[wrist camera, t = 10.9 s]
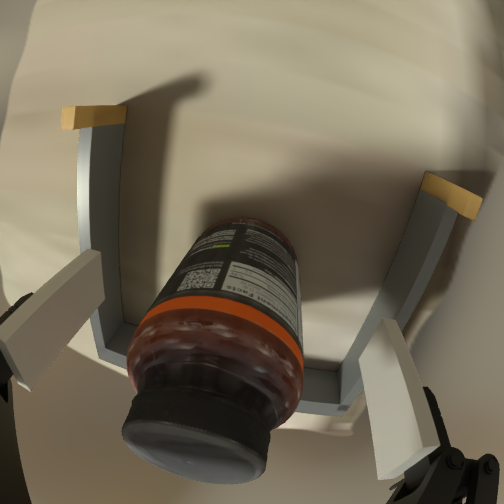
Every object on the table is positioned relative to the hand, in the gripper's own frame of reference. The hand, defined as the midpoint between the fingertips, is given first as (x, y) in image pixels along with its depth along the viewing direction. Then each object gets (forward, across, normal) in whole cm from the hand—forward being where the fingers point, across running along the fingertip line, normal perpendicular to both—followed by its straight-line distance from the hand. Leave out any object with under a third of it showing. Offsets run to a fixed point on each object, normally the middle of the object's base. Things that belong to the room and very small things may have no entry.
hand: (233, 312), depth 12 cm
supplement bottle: (+4, 0, 0) cm, 5 cm away
